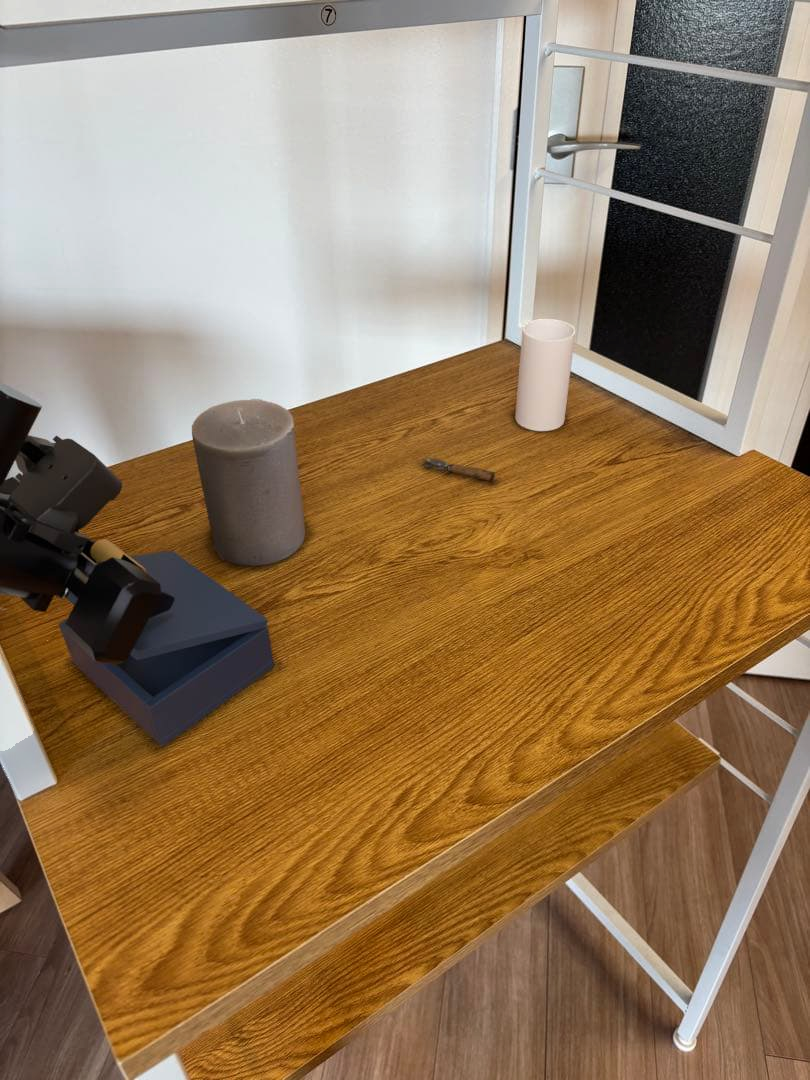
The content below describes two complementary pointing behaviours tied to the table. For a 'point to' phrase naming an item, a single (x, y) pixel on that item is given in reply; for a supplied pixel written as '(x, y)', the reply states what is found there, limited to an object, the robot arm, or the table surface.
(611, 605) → the table surface
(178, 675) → the chest
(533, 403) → the cup
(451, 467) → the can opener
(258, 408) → the pillar candle
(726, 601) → the table surface
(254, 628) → the lid
